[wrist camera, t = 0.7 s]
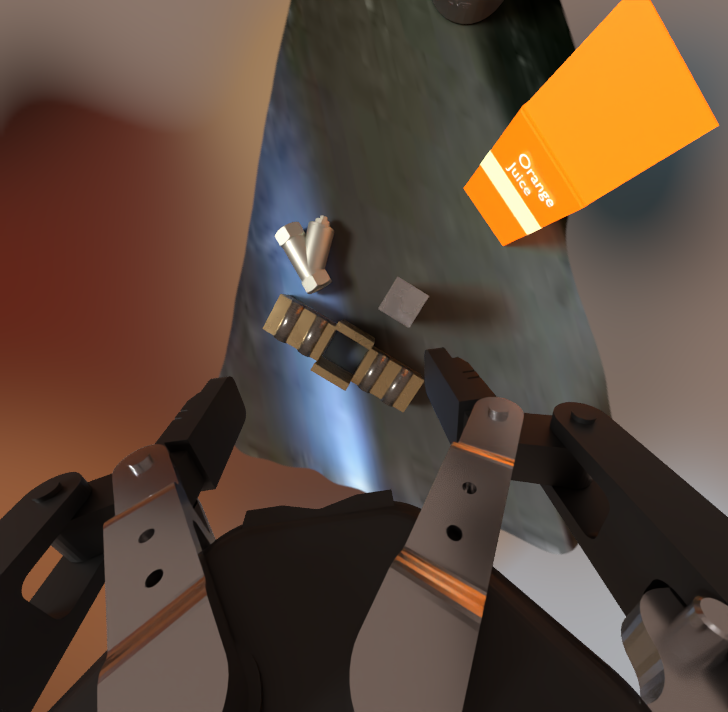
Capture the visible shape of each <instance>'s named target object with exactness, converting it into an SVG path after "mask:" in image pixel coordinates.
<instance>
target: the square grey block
mask: <svg viewBox="0 0 728 712" xmlns="http://www.w3.org/2000/svg"><path fill="white" fill-rule="evenodd" d="M428 297H429V296H428V295H427V294H425V293H423V292H422V291H420V290H419V289H417V288H415V287H414V286H412V285H411V284H409V283H407V282H406V281H404V280H403V279H401V278H399V277H397V278H396V280H395V282H394V283H393V285H392V287H391V288H390V290H389V292H388V293H387V295H386V297H385V298H384V300H383V301H382V303H381V305H380V306H379V308H378V309H379V310H381V311H382V312H384V313H386V314H387V315H389V316H391V317H392V318H394V319H396V320H397V321H399V322H400V323H402V324H404V325H405V326H407V327H410V326H411V324H412V322H413V321H414V319H415V318H416V316H417V315H418V313H419V311H420V310H421V308H422V307H423V305H424V304H425V302H426V300H427V299H428Z"/></svg>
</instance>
